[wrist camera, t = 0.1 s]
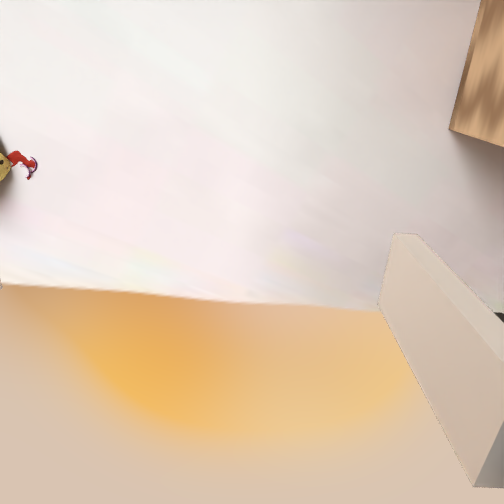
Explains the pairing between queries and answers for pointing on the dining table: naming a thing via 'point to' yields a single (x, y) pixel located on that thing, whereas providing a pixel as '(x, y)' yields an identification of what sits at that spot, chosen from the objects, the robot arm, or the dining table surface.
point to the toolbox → (483, 79)
